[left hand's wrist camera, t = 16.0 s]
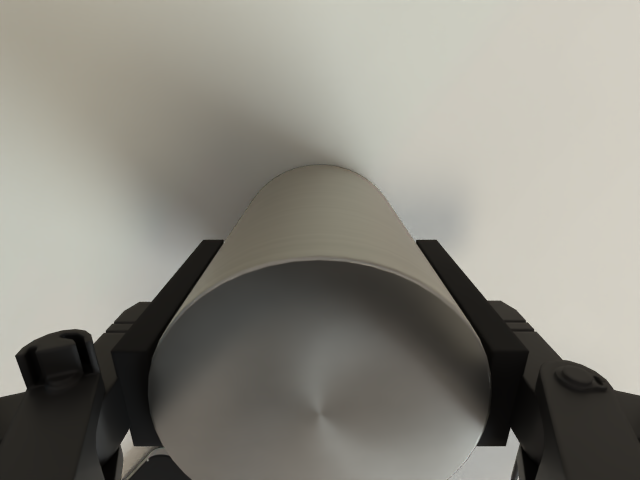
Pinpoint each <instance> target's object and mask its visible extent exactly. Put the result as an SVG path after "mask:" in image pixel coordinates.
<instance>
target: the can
mask: <svg viewBox="0 0 640 480" xmlns="http://www.w3.org/2000/svg"><path fill="white" fill-rule="evenodd" d="M491 397H492V388H491V373H490V369H489V364H488V359H487V356H486V353H485V351H484V349H483V346H482V344H481V341H480V339H479V337H478V336H477V334H476V332H475V331H474V329H473V328H472V326H471V324H470V323H469V321H468V320H467V318H466V317H465V315H464V314H463V312H462V311H461V309H460V308H459V306H458V305H457V303H456V302H455V300H454V299H453V297H452V296H451V294H450V293H449V291H448V290H447V289H446V287H445V286H444V284H443V283H442V281H441V280H440V278H439V277H438V275H437V274H436V272H435V271H434V269H433V268H432V266H431V265H430V263H429V262H428V260H427V259H426V257H425V256H424V254H423V253H422V251H421V250H420V249H419V247H418V246H417V244H416V243H415V241H414V240H413V238H412V237H411V235H410V234H409V232H408V231H407V229H406V228H405V226H404V225H403V223H402V222H401V220H400V219H399V217H398V216H397V214H396V213H395V211H394V210H393V208H392V207H391V206H390V204H389V203H388V201H387V200H386V198H385V197H384V195H383V194H382V193H381V192H380V191H379V189H378V188H376V187H375V186H374V185H373V184H372V183H371V182H370V181H368V180H367V179H365V178H364V177H362V176H361V175H359V174H357V173H355V172H353V171H350V170H347V169H344V168H341V167H336V166H331V165H308V166H303V167H298V168H295V169H292V170H289V171H287V172H285V173H283V174H281V175H279V176H277V177H276V178H274V179H273V180H271V181H270V182H269V183H268V184H266V185H265V186H264V187H263V188H262V189H261V190H260V191H259V193H258V194H257V195H256V196H255V198H254V199H253V201H252V202H251V203H250V205H249V206H248V208H247V209H246V211H245V212H244V214H243V215H242V217H241V218H240V220H239V221H238V223H237V224H236V226H235V227H234V229H233V230H232V232H231V233H230V235H229V236H228V238H227V239H226V241H225V242H224V243H223V245H222V246H221V248H220V249H219V251H218V252H217V254H216V255H215V257H214V258H213V260H212V261H211V263H210V264H209V266H208V267H207V269H206V270H205V272H204V273H203V275H202V276H201V278H200V279H199V281H198V282H197V284H196V285H195V286H194V288H193V289H192V291H191V292H190V294H189V295H188V297H187V298H186V300H185V301H184V303H183V304H182V306H181V307H180V309H179V310H178V312H177V313H176V315H175V316H174V318H173V319H172V321H171V322H170V324H169V325H168V327H167V329H166V330H165V332H164V333H163V335H162V337H161V338H160V340H159V343H158V345H157V348H156V350H155V353H154V355H153V358H152V362H151V367H150V372H149V378H148V400H149V408H150V414H151V417H152V421H153V424H154V427H155V430H156V432H157V434H158V436H159V438H160V441H161V443H162V445H163V446H164V448H165V449H166V451H167V452H168V454H169V455H170V457H171V458H172V460H173V461H174V462H175V463H176V464H177V465H178V466H179V468H180V469H181V470H182V471H183V472H184V473H185V474H186V475H187V476H188V477H189V478H191V479H192V480H448V479H449V478H450V477H451V476H452V475H453V474H455V473H456V472H457V471H458V469H459V468H460V467H461V466H462V465H463V464H464V463H465V461H466V460H467V459H468V458H469V456H470V455H471V453H472V452H473V450H474V449H475V447H476V446H477V444H478V442H479V440H480V438H481V436H482V433H483V431H484V429H485V426H486V423H487V419H488V416H489V413H490V405H491Z"/></svg>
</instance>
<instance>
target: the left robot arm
mask: <svg viewBox="0 0 640 480" xmlns="http://www.w3.org/2000/svg"><path fill="white" fill-rule="evenodd" d="M223 243H224V241H223V240H203V241H202V242H201V243H200V244H199V246H198V247H197V248H196V249H195V250H194V252H193V253H192V254H191V255H190V256H189V258H188V259H187V260H186V261H185V262H184V264H183V265H182V266H181V267H180V268H179V270H178V271H177V272H176V273H175V274H174V276H173V277H172V278H171V279H170V280H169V282H168V283H167V284H166V285H165V286H164V288H163V289H162V290H161V291H160V292H159V294H158V295H157V296H156V297H155V298H154V300H153V301H152V302H138V303H137V304H135V305H133V306H132V307H130V308H128V309H127V310H125V311H124V312H123V313H122V314H121V315H120V316H119V317H118V318H117V319H116V320H115V321H114V324H112V325H111V326H110V327H109V328H108V329H107V330H106V333H103V334H102V335H101V337H100V338H99V339H98V340H97V341H96V342H95V343H94V344H93V340H92V336H91V334H89V333H88V332H87V331H84V330H78V329H72V330H62V331H58V332H55V333H51V334H48V335H45V336H43V337H41V338H38V339H36V340H34V341H32V342H31V343H29V344H28V345H26V346H25V347H23V348H22V349H21V350H20V351H19V352H18V353H17V354H16V355H15V357H16V360H17V362H18V365H19V368H20V371H21V373H22V376H23V379H24V382H25V384H26V387H27V390H26V392H23V393H18V394H14V395H9V396H4V397H0V480H121V475H122V467H123V454H122V449H121V445H120V444H121V442H122V440H123V439H124V437H125V435H126V434H127V432H128V430H129V428H130V432H131V436H132V440H133V444H134V446H163V445H162V443H161V441H160V438H159V436H158V434H157V432H156V430H155V427H154V424H153V421H152V417H151V414H150V408H149V400H148V378H149V372H150V367H151V362H152V358H153V355H154V353H155V350H156V348H157V345H158V343H159V340H160V338H161V337H162V335H163V333H164V332H165V330H166V329H167V327H168V325H169V324H170V322H171V321H172V319H173V318H174V316H175V315H176V313H177V312H178V310H179V309H180V307H181V306H182V304H183V303H184V301H185V300H186V298H187V297H188V295H189V294H190V292H191V291H192V289H193V288H194V286H195V285H196V284H197V282H198V281H199V279H200V278H201V276H202V275H203V273H204V272H205V270H206V269H207V267H208V266H209V264H210V263H211V261H212V260H213V258H214V257H215V255H216V254H217V252H218V251H219V249H220V248H221V246H222V245H223ZM416 244H417V246H418V247H419V249H420V250H421V251H422V253H423V254H424V256H425V257H426V259H427V260H428V262H429V263H430V265H431V266H432V268H433V269H434V271H435V272H436V274H437V275H438V277H439V278H440V280H441V281H442V283H443V284H444V286H445V287H446V289H447V290H448V291H449V293H450V294H451V296H452V297H453V299H454V300H455V302H456V303H457V305H458V306H459V308H460V309H461V311H462V312H463V314H464V315H465V317H466V318H467V320H468V321H469V323H470V324H471V326H472V328H473V329H474V331H475V332H476V334H477V336H478V337H479V339H480V341H481V344H482V346H483V349H484V351H485V353H486V356H487V359H488V364H489V369H490V373H491V388H492V397H491V405H490V413H489V416H488V419H487V423H486V426H485V429H484V431H483V433H482V436H481V438H480V440H479V442H478V444H477V446H506V443H507V439H508V435H509V431H510V427H511V429H512V430H513V432H514V434H515V435H516V437H517V439H518V441H519V442H520V445H519V449H518V453H517V456H516V460H515V464H514V468H513V471H512V476H511V480H517V478H518V476H519V480H640V396H639V395H634V394H630V393H625V392H620V391H616V390H614V389H613V388H612V386H611V385H610V384H609V382H608V381H607V380H606V379H605V378H603V377H602V376H601V375H599V374H598V373H597V372H595V371H594V370H592V369H590V368H588V367H585V366H583V365H581V364H578V363H574V362H571V361H567V360H562V359H561V358H560V357H559V355H558V354H557V353H556V352H555V351H554V350H553V349H552V348H551V347H550V346H549V345H548V344H547V343H546V342H545V340H544V339H543V338H542V337H541V336H540V335H539V334H538V333H537V332H534V329H533V328H532V327H531V325H530V324H529V323H526V320H525V319H524V318H523V317H522V316H521V315H520V314H519V313H518V312H517V311H516V310H515V309H514V308H512V307H510V306H509V305H507V304H505V303H504V302H502V301H487V300H486V299H485V298H484V296H483V295H482V294H481V293H480V292H479V290H478V289H477V288H476V287H475V286H474V284H473V283H472V282H471V281H470V280H469V278H468V277H467V276H466V275H465V274H464V272H463V271H462V270H461V269H460V268H459V266H458V265H457V264H456V263H455V262H454V260H453V259H452V258H451V257H450V256H449V254H448V253H447V252H446V251H445V250H444V248H443V247H442V246H441V245H440V244H439V242H438V241H437V240H416Z"/></svg>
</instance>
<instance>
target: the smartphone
mask: <svg viewBox="0 0 640 480" xmlns="http://www.w3.org/2000/svg"><path fill="white" fill-rule="evenodd" d="M125 480H192V479H191V478H189V477H188V476H187V475H186V474H185V473H184V472H183V471H182V470H181V469H180V468H179V466H178V465H177V464H176V463H175V462H174V461H173V460H172V458H171V457H170V455H169V454H168V452H167V451H166V449H165V448H164V447H161V448H157V449H155V450H153V451H151V452H150V453H149V455H148V456H147V457H146V458H145V459H144V460H143V461H142V462H141V463H140V464H139V465H138V466H137V468H136V469H135V470H134V471H133V472H132V473H131V474H130V475H129V476H128V477H127V478H126V479H125Z"/></svg>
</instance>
